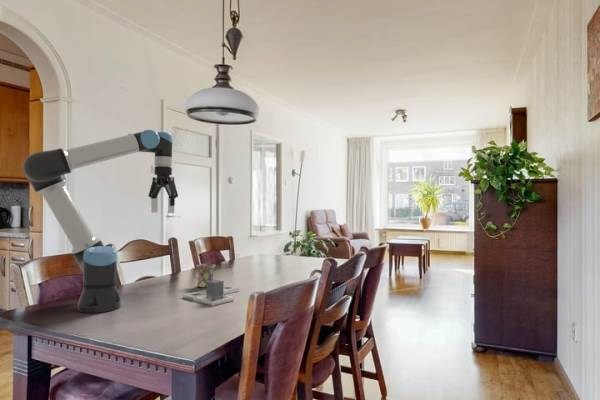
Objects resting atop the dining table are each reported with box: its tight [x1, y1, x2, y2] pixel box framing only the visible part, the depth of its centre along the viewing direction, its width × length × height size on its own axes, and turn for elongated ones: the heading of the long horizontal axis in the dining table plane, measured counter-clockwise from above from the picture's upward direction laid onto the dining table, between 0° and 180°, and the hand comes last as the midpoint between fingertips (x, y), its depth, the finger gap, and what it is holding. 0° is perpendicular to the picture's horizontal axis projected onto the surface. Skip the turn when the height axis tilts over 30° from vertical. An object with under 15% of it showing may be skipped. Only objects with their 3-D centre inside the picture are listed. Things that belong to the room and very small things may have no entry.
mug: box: [190, 263, 217, 289], centre depth 199 cm, size 12×9×11 cm
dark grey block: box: [205, 279, 225, 301], centre depth 170 cm, size 5×5×8 cm
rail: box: [182, 285, 241, 302], centre depth 182 cm, size 26×8×2 cm, turn 141°
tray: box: [195, 294, 235, 307], centre depth 170 cm, size 11×11×2 cm
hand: (162, 212), depth 183 cm, fingers open, 13 cm apart
